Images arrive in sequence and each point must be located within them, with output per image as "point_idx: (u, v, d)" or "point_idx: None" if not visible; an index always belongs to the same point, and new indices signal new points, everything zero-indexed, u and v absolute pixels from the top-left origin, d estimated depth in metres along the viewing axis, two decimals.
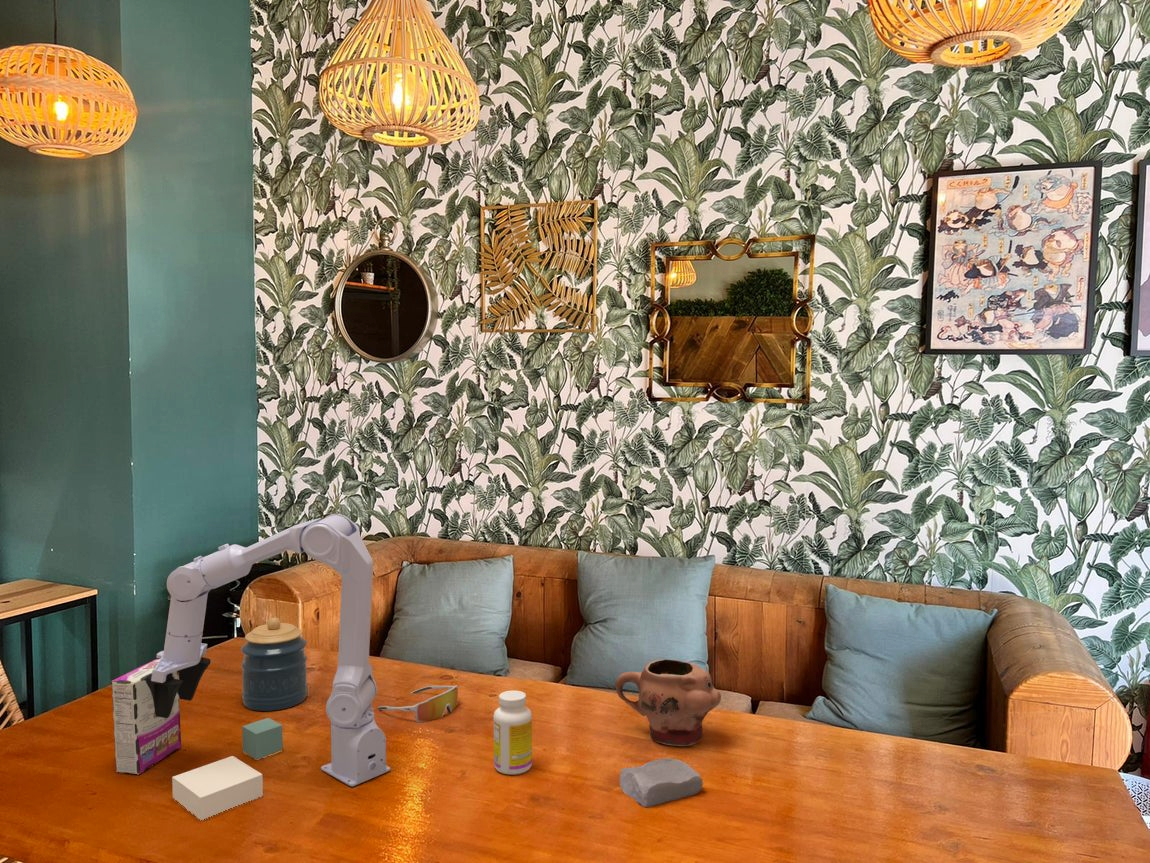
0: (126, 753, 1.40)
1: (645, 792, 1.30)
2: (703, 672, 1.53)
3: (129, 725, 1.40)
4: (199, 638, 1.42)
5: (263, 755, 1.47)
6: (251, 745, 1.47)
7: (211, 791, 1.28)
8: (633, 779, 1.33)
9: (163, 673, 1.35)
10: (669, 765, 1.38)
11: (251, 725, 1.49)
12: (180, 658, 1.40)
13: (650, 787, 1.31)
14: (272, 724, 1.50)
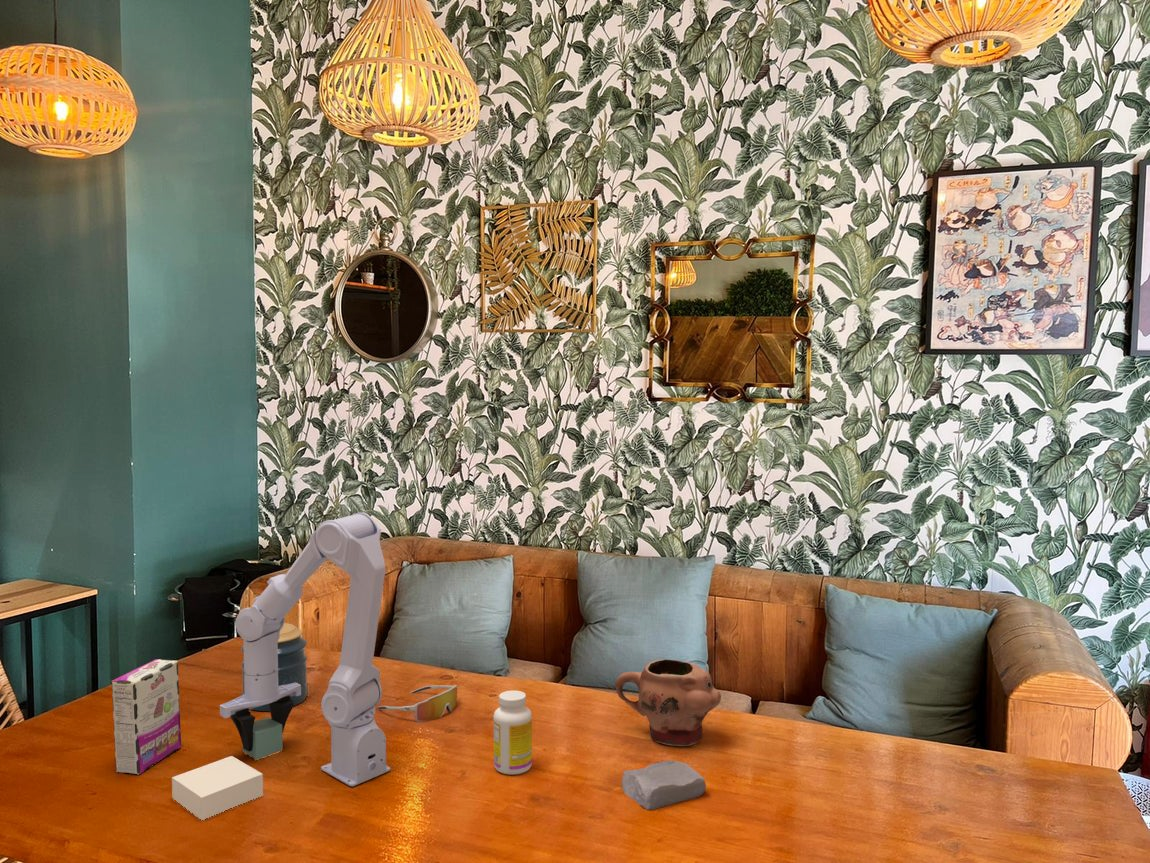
0: (126, 753, 1.40)
1: (648, 795, 1.30)
2: (703, 672, 1.53)
3: (129, 725, 1.40)
4: (268, 678, 1.47)
5: (263, 754, 1.47)
6: None
7: (212, 791, 1.28)
8: (636, 782, 1.33)
9: (225, 709, 1.43)
10: (672, 767, 1.37)
11: None
12: (251, 696, 1.46)
13: (652, 789, 1.30)
14: (272, 723, 1.50)
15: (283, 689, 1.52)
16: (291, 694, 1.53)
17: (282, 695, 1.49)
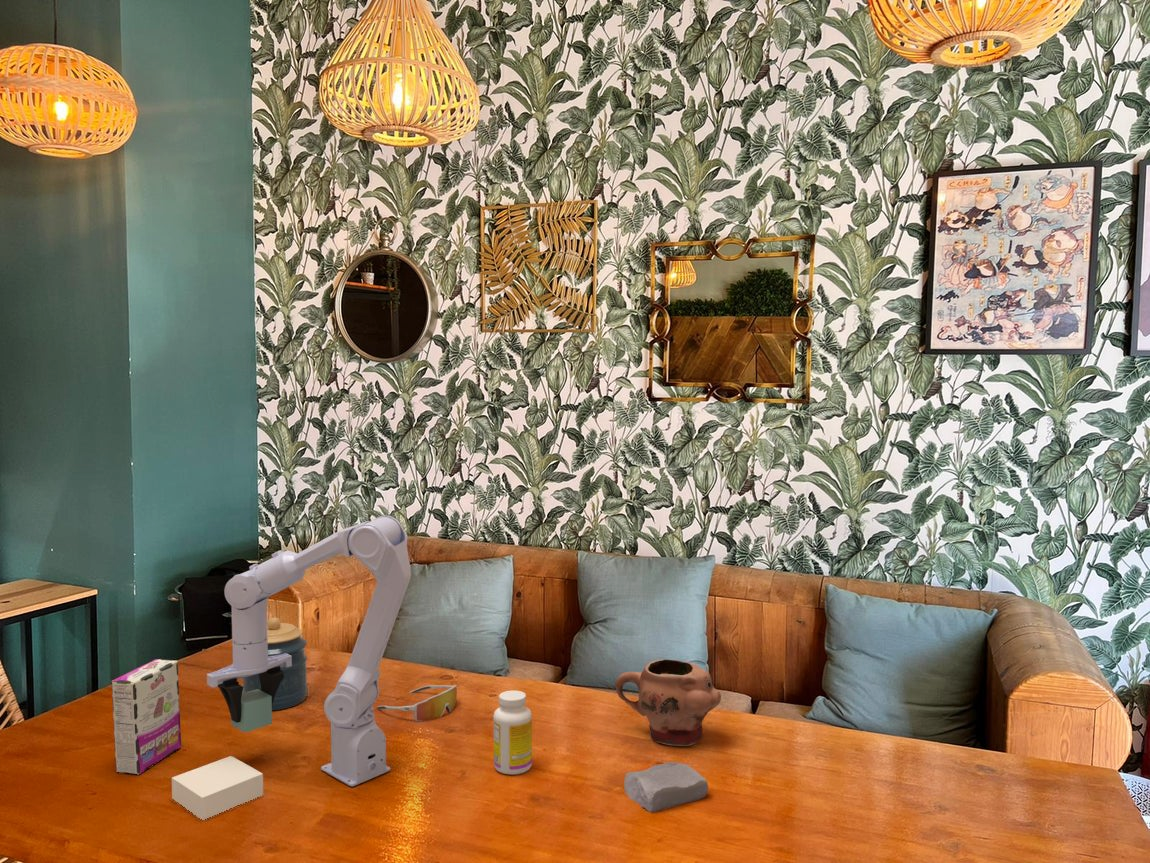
0: (126, 753, 1.40)
1: (650, 797, 1.29)
2: (703, 672, 1.53)
3: (129, 725, 1.40)
4: (256, 647, 1.42)
5: (251, 726, 1.42)
6: None
7: (212, 791, 1.28)
8: (638, 784, 1.32)
9: (212, 678, 1.38)
10: (674, 769, 1.37)
11: None
12: (239, 665, 1.42)
13: (655, 791, 1.29)
14: (261, 695, 1.45)
15: (273, 659, 1.47)
16: (281, 665, 1.48)
17: (272, 665, 1.45)
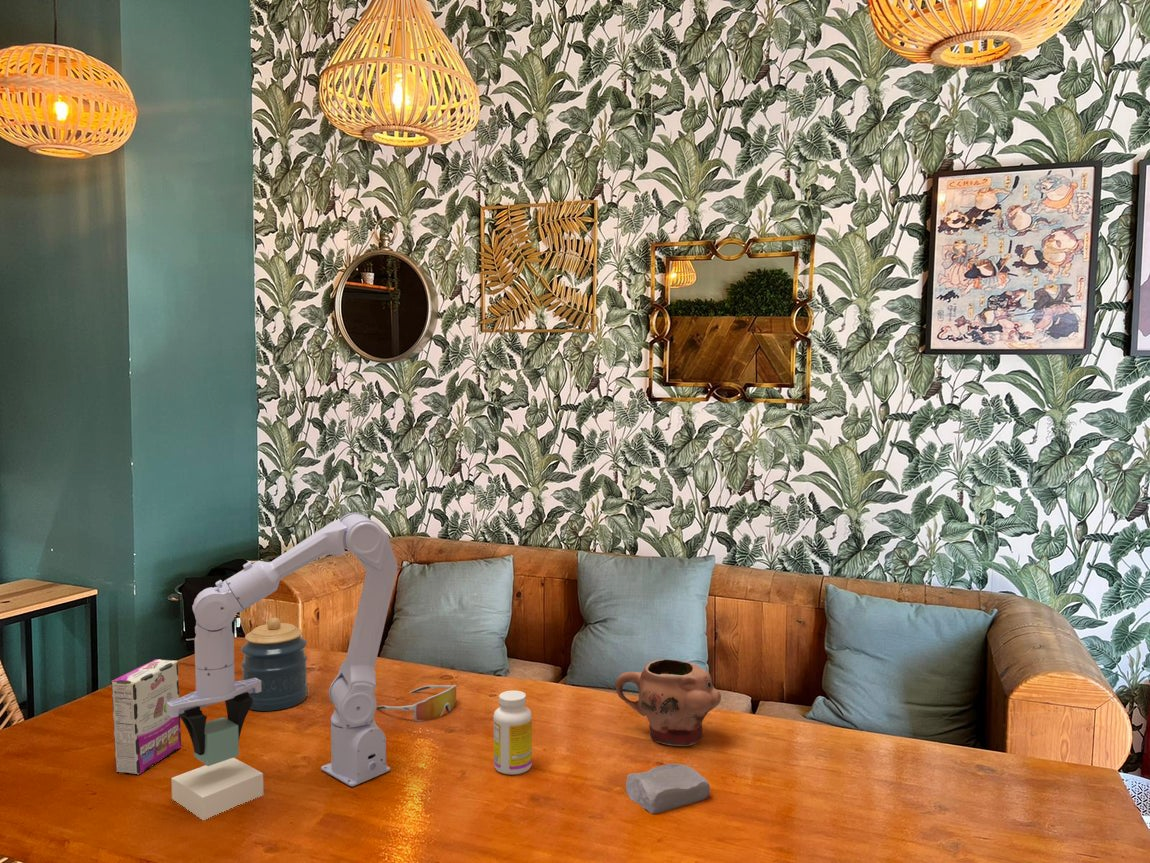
0: (126, 753, 1.40)
1: (652, 799, 1.28)
2: (703, 672, 1.53)
3: (129, 725, 1.40)
4: (222, 672, 1.30)
5: (216, 759, 1.30)
6: None
7: (213, 790, 1.28)
8: (640, 785, 1.31)
9: (172, 707, 1.26)
10: (676, 770, 1.36)
11: None
12: (202, 693, 1.29)
13: (657, 793, 1.29)
14: (227, 724, 1.33)
15: (241, 685, 1.35)
16: (250, 691, 1.36)
17: (239, 692, 1.33)
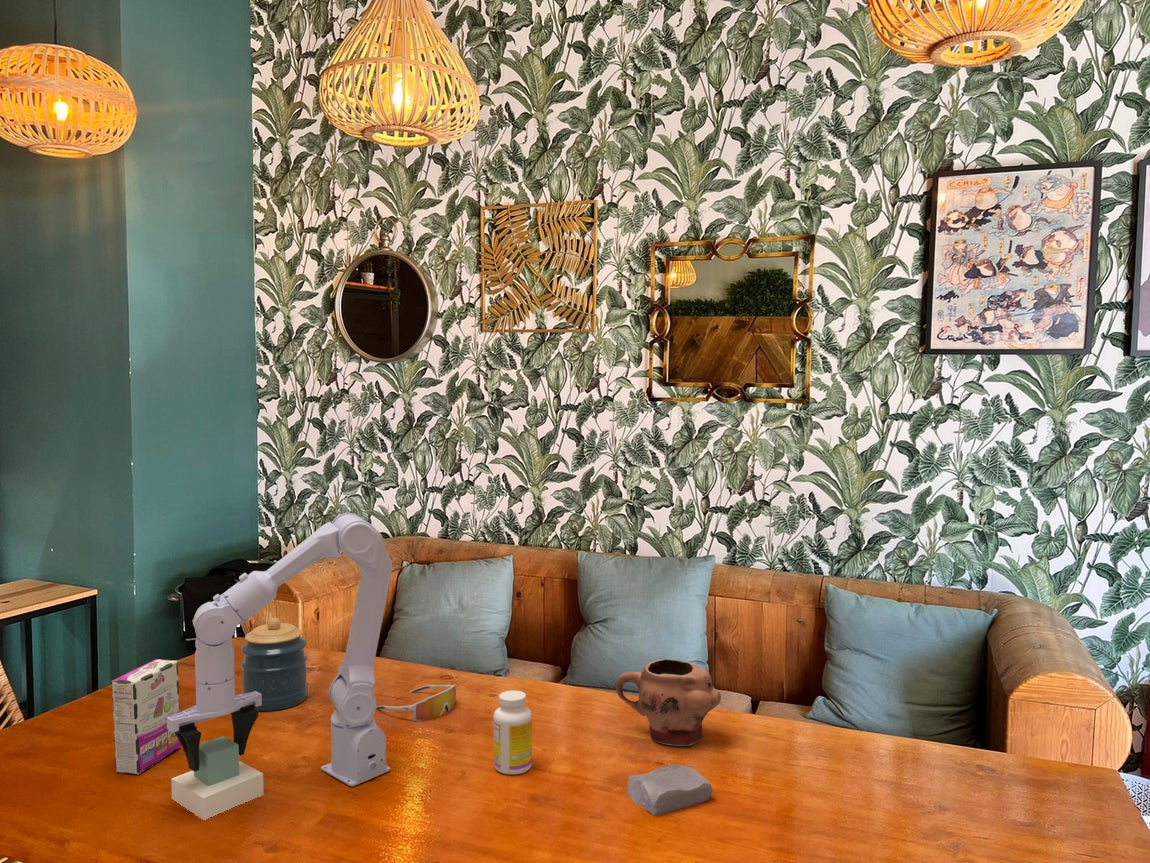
0: (126, 753, 1.40)
1: (654, 801, 1.28)
2: (703, 672, 1.53)
3: (129, 725, 1.40)
4: (222, 686, 1.30)
5: (216, 779, 1.30)
6: (203, 768, 1.30)
7: (213, 791, 1.28)
8: (642, 787, 1.31)
9: (172, 722, 1.26)
10: (677, 772, 1.36)
11: (203, 745, 1.33)
12: (202, 707, 1.29)
13: (659, 795, 1.28)
14: (227, 743, 1.33)
15: (241, 699, 1.35)
16: (250, 704, 1.36)
17: (239, 706, 1.33)
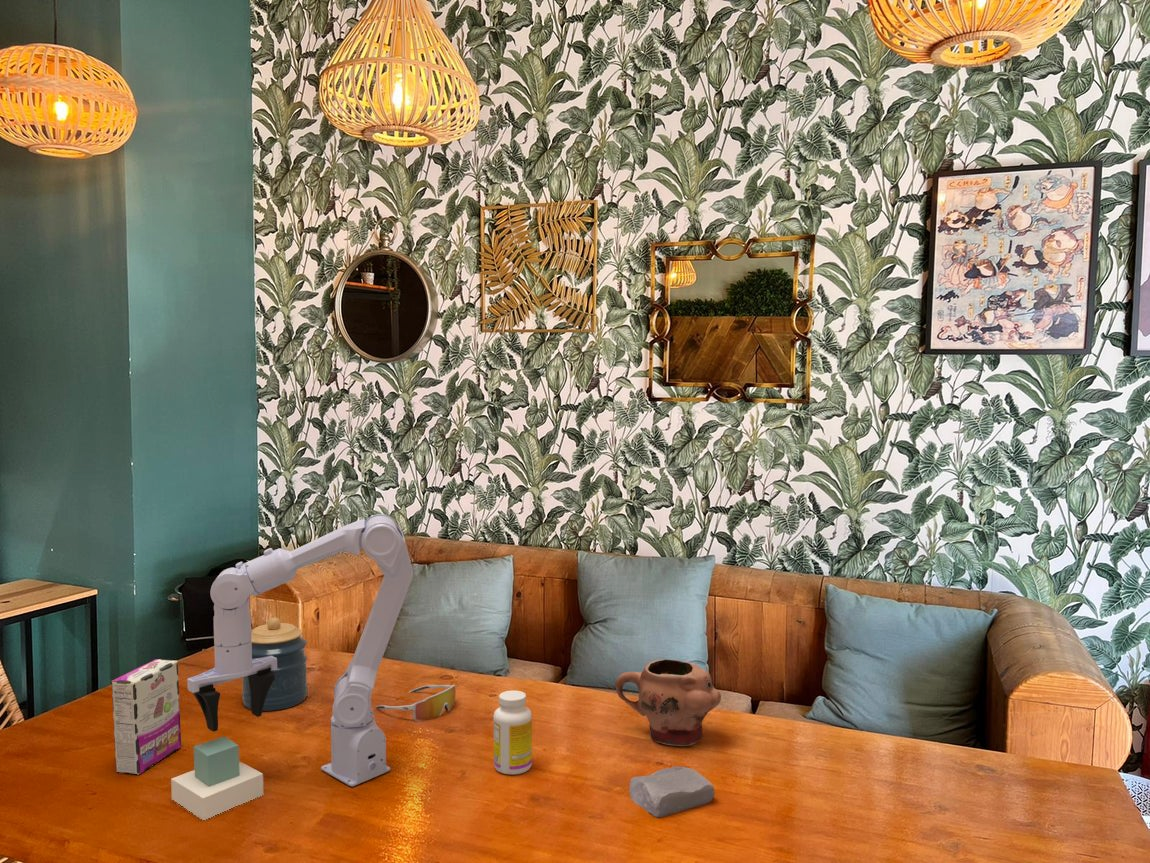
0: (126, 753, 1.40)
1: (656, 803, 1.27)
2: (703, 672, 1.53)
3: (129, 725, 1.40)
4: (240, 649, 1.35)
5: (216, 779, 1.30)
6: (203, 768, 1.30)
7: (213, 791, 1.28)
8: (644, 789, 1.30)
9: (193, 683, 1.31)
10: (680, 774, 1.35)
11: (203, 745, 1.33)
12: (221, 669, 1.34)
13: (661, 797, 1.27)
14: (227, 744, 1.33)
15: (257, 662, 1.40)
16: (266, 668, 1.41)
17: (256, 668, 1.38)
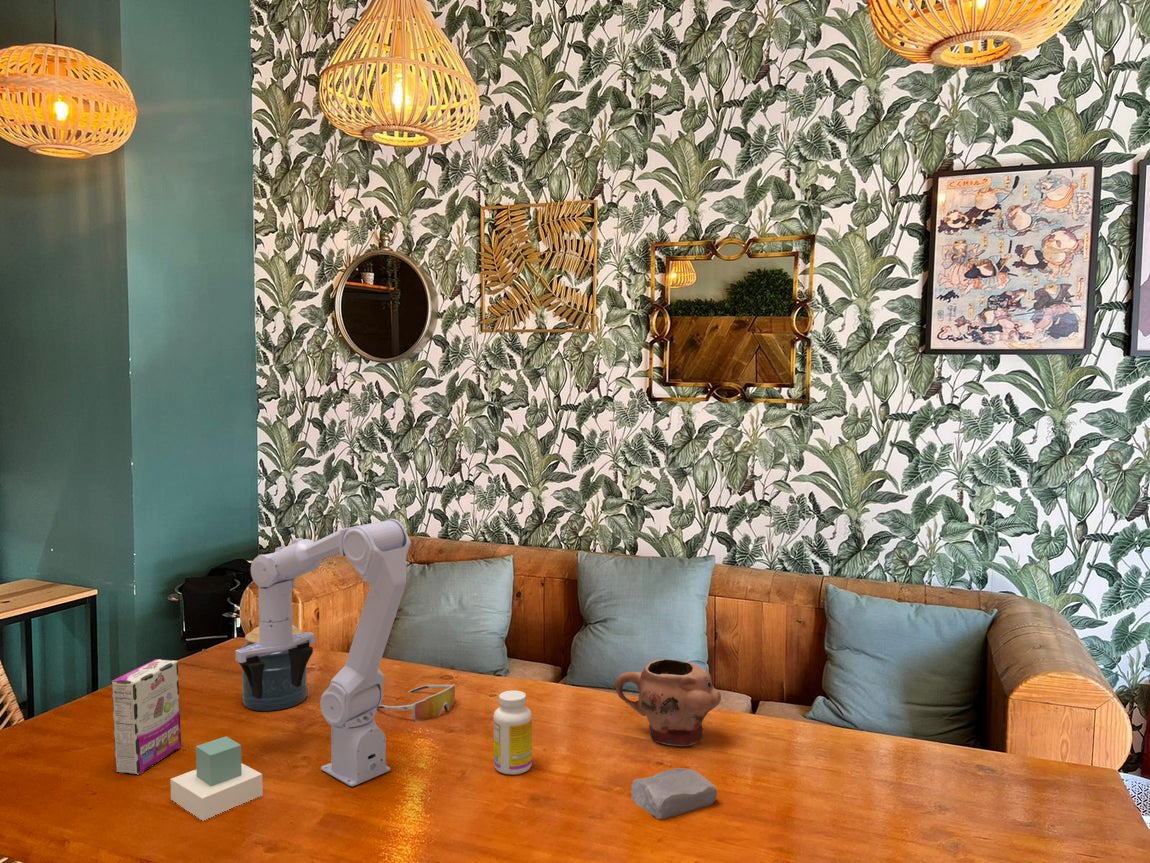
0: (126, 753, 1.40)
1: (659, 805, 1.27)
2: (703, 672, 1.53)
3: (129, 725, 1.40)
4: (282, 624, 1.48)
5: (219, 779, 1.30)
6: (205, 768, 1.30)
7: (212, 791, 1.28)
8: (646, 791, 1.30)
9: (240, 654, 1.45)
10: (682, 775, 1.35)
11: (206, 745, 1.33)
12: (266, 642, 1.48)
13: (664, 799, 1.27)
14: (230, 744, 1.33)
15: (297, 637, 1.54)
16: (305, 643, 1.55)
17: (296, 642, 1.51)
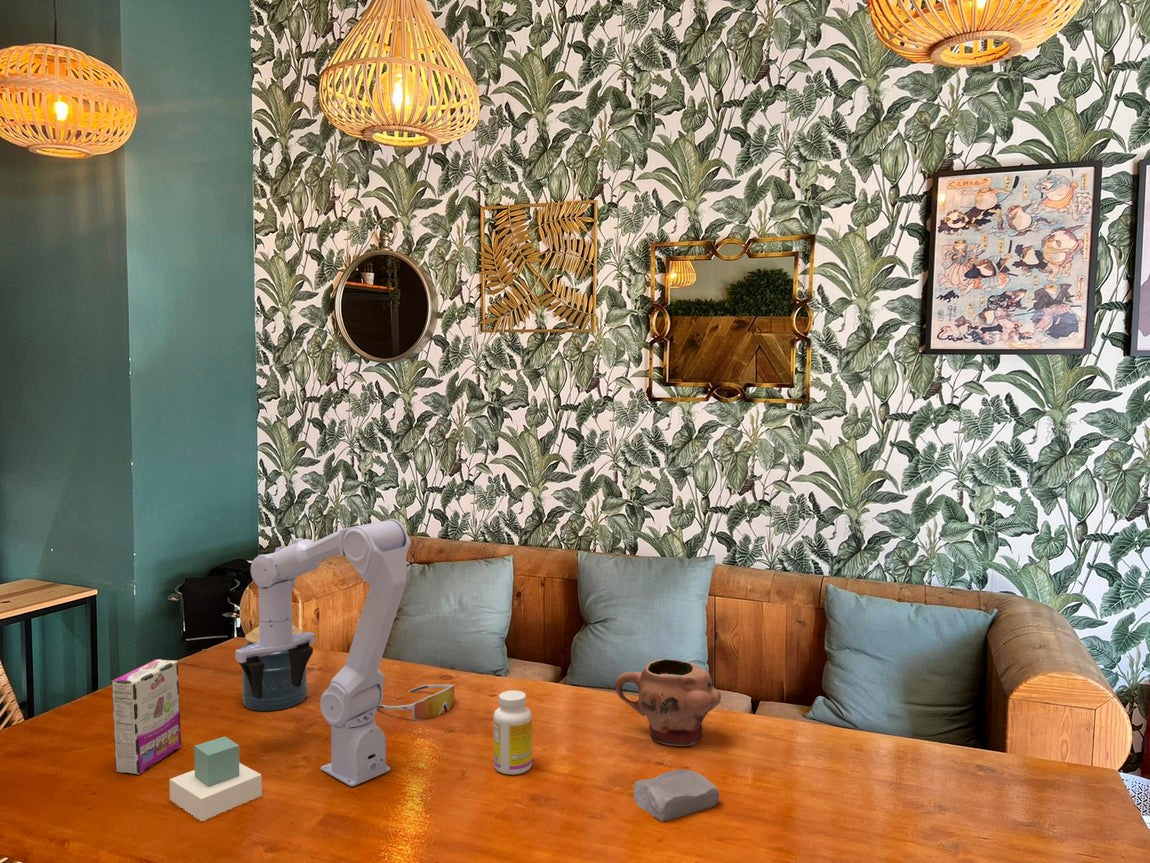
0: (126, 753, 1.40)
1: (662, 807, 1.26)
2: (703, 672, 1.53)
3: (129, 725, 1.40)
4: (282, 624, 1.48)
5: (216, 779, 1.30)
6: (203, 768, 1.30)
7: (211, 792, 1.28)
8: (649, 793, 1.29)
9: (240, 654, 1.45)
10: (684, 777, 1.34)
11: (204, 745, 1.33)
12: (266, 642, 1.48)
13: (667, 801, 1.26)
14: (228, 744, 1.33)
15: (297, 637, 1.54)
16: (305, 643, 1.55)
17: (296, 642, 1.51)
